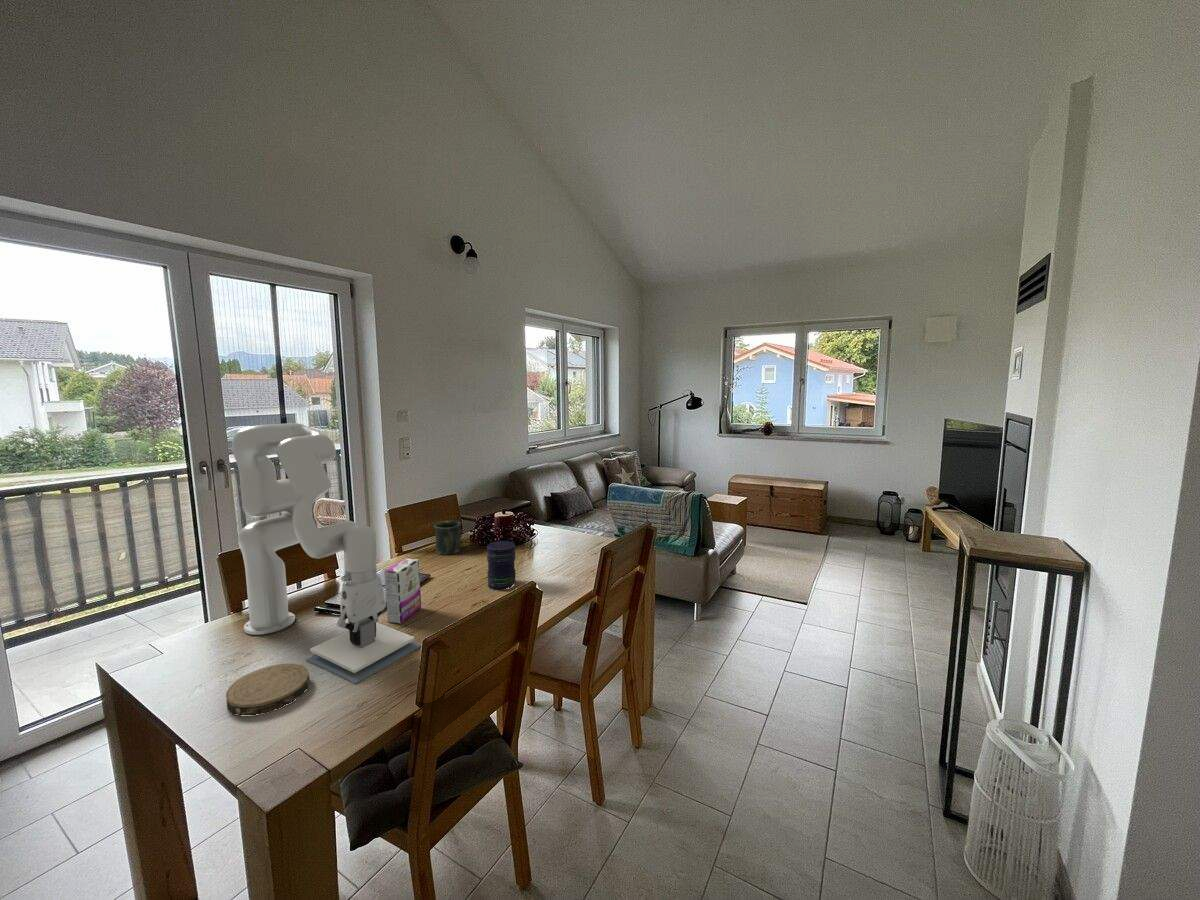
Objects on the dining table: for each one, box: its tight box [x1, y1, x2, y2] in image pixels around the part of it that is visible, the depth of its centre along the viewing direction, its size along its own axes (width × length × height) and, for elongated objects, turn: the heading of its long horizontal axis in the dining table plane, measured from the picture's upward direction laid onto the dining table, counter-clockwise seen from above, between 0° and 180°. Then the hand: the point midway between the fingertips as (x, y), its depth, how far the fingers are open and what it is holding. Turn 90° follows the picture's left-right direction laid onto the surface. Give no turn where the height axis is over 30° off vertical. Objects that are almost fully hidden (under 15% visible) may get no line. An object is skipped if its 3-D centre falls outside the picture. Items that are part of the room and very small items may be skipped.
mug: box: [433, 520, 463, 556], centre depth 212 cm, size 11×15×12 cm
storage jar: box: [486, 540, 516, 591], centre depth 175 cm, size 10×10×15 cm
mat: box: [305, 640, 422, 685], centre depth 131 cm, size 20×20×1 cm
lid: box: [309, 618, 416, 673], centre depth 131 cm, size 18×18×7 cm
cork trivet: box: [225, 663, 310, 715], centre depth 114 cm, size 16×16×3 cm
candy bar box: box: [384, 558, 422, 625], centre depth 152 cm, size 11×5×16 cm, turn 168°
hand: (363, 639), depth 131 cm, fingers closed on lid, 4 cm apart
